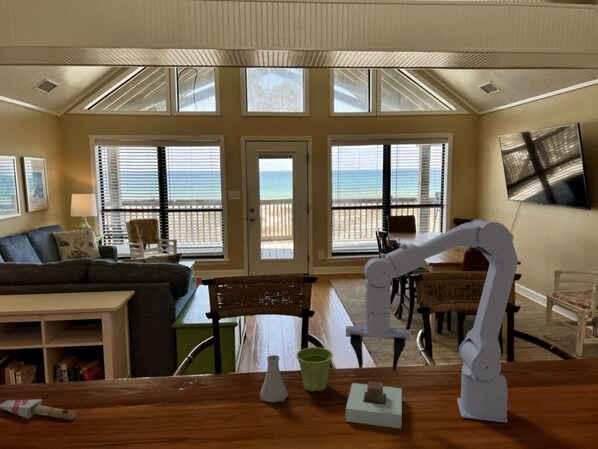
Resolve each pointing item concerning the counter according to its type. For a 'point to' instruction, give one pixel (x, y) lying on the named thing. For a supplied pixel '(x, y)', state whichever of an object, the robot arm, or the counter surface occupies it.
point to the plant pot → (314, 367)
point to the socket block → (375, 407)
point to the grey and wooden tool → (35, 409)
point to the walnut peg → (375, 392)
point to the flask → (273, 382)
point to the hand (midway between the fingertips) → (377, 367)
